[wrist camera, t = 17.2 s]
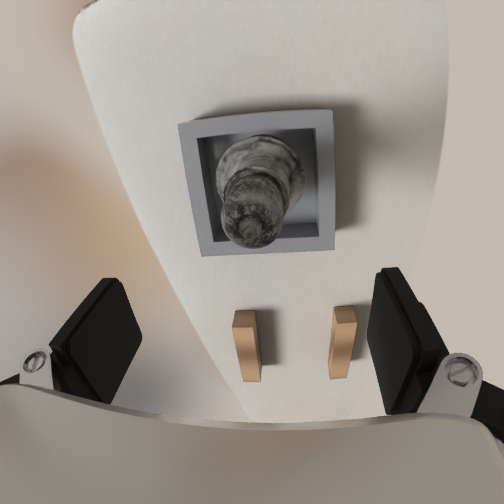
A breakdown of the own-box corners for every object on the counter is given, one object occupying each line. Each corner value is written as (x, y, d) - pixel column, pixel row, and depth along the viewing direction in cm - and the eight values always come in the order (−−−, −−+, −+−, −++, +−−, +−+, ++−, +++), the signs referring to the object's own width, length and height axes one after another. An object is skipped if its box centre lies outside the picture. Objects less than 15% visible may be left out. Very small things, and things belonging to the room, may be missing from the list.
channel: (344, 362, 33) (346, 378, 31) (245, 365, 34) (243, 382, 32) (352, 305, 28) (357, 322, 26) (235, 311, 30) (231, 327, 28)
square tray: (328, 232, 25) (334, 250, 22) (209, 238, 26) (201, 256, 23) (325, 108, 20) (332, 110, 17) (190, 120, 21) (177, 124, 18)
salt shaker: (275, 116, 20) (274, 133, 10) (314, 181, 22) (346, 262, 12) (209, 156, 22) (148, 214, 11) (250, 216, 24) (229, 315, 14)
